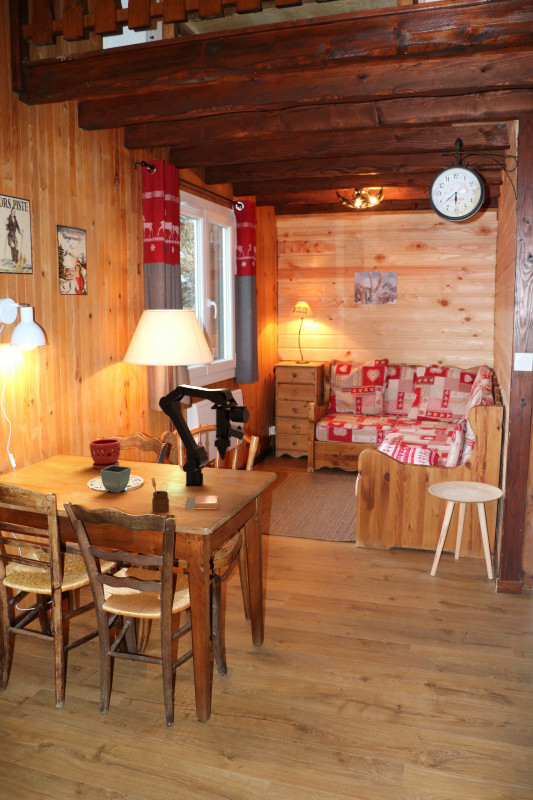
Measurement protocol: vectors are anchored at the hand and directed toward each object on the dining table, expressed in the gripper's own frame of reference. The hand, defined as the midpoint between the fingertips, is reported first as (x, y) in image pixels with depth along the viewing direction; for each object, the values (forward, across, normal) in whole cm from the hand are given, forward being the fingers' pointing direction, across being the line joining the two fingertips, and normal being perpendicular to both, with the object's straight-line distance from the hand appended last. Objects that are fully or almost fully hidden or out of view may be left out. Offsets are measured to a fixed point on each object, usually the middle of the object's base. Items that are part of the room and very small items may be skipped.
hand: (223, 459), depth 264 cm
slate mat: (+12, -20, +7) cm, 24 cm away
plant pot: (+12, +34, +53) cm, 65 cm away
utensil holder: (+12, -28, +22) cm, 37 cm away
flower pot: (+12, -2, +42) cm, 44 cm away
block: (+10, -17, +6) cm, 21 cm away
